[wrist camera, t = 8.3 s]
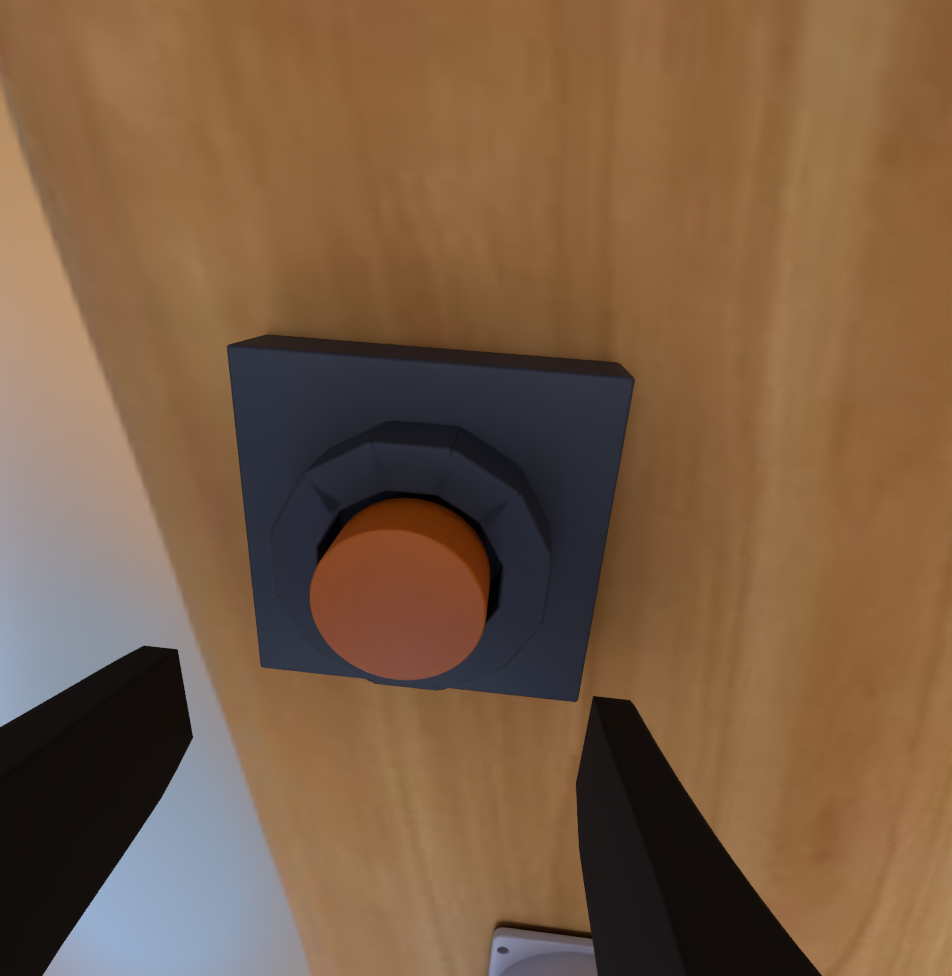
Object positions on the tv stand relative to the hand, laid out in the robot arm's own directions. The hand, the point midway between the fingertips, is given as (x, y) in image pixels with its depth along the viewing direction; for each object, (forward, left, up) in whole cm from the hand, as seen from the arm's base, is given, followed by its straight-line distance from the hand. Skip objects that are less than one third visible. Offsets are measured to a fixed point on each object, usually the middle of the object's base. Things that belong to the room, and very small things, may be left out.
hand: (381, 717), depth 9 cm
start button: (0, 0, -5) cm, 5 cm away
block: (0, 0, -8) cm, 8 cm away
